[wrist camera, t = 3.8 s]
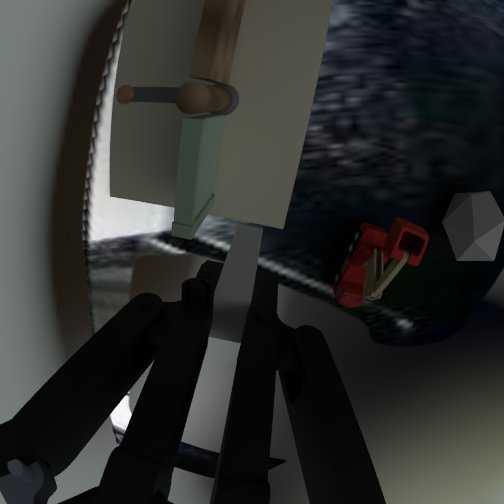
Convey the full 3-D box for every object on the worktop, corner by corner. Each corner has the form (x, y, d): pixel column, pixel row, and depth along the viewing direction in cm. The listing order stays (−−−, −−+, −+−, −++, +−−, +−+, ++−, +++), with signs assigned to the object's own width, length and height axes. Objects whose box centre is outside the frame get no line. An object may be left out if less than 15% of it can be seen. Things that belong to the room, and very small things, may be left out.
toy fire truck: (329, 286, 35) (338, 341, 27) (372, 190, 28) (405, 227, 20) (351, 292, 35) (365, 346, 27) (397, 199, 28) (433, 239, 20)
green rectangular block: (209, 113, 25) (180, 117, 18) (226, 115, 25) (204, 120, 18) (198, 201, 30) (171, 235, 23) (213, 204, 30) (191, 239, 23)
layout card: (137, -15, 17) (136, -16, 17) (333, -7, 17) (334, -8, 17) (111, 195, 32) (110, 196, 31) (282, 227, 32) (282, 229, 31)
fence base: (235, -20, 17) (214, -64, 9) (258, -19, 17) (246, -64, 9) (209, 109, 26) (172, 112, 17) (231, 111, 26) (205, 115, 17)
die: (419, 218, 29) (455, 286, 25) (454, 171, 22) (503, 248, 17) (454, 210, 31) (486, 269, 26) (485, 169, 23) (527, 234, 19)
